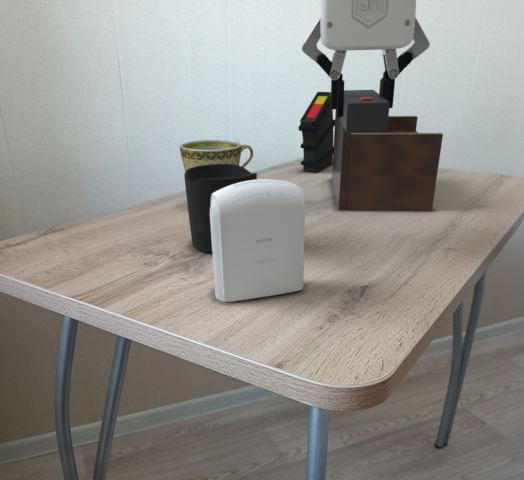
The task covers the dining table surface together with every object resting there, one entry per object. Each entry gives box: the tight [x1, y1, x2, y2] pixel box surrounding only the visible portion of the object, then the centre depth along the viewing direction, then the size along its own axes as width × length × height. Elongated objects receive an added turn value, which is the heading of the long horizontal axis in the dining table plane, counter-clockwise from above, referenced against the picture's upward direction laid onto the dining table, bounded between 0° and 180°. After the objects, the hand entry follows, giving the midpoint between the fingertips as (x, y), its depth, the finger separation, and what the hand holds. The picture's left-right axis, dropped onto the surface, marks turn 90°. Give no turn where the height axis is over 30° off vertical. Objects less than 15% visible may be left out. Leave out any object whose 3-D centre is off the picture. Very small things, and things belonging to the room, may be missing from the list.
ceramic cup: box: [179, 139, 254, 173], centre depth 92 cm, size 13×10×10 cm
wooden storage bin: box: [331, 111, 444, 212], centre depth 97 cm, size 15×22×14 cm
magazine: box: [297, 91, 335, 174], centre depth 117 cm, size 4×13×15 cm, turn 155°
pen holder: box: [183, 164, 258, 255], centre depth 74 cm, size 9×9×10 cm
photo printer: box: [210, 178, 306, 303], centre depth 59 cm, size 10×4×12 cm, turn 109°
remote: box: [340, 89, 390, 133], centre depth 66 cm, size 4×15×3 cm, turn 177°
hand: (360, 114), depth 66 cm, fingers closed on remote, 4 cm apart
